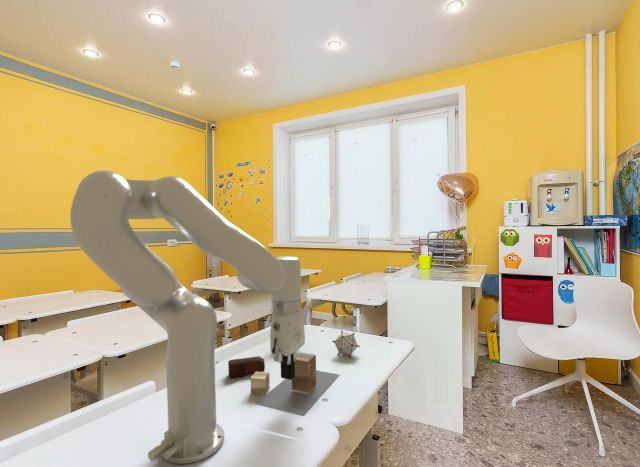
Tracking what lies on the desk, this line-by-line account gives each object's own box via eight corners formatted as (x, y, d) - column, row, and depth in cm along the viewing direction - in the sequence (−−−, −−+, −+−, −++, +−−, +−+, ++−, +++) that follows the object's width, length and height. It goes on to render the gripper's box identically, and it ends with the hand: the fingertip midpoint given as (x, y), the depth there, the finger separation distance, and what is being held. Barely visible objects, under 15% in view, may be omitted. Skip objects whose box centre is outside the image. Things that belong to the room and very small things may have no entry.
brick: (229, 380, 103) (229, 364, 103) (228, 374, 106) (228, 359, 106) (265, 374, 106) (264, 359, 106) (262, 369, 110) (262, 354, 110)
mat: (303, 417, 82) (303, 415, 82) (255, 405, 88) (255, 403, 88) (340, 375, 104) (340, 374, 104) (299, 368, 110) (299, 367, 110)
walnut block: (308, 394, 92) (307, 361, 92) (292, 391, 94) (291, 358, 94) (316, 386, 97) (315, 354, 96) (300, 383, 99) (300, 352, 99)
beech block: (265, 397, 92) (264, 378, 92) (250, 396, 93) (250, 377, 93) (269, 390, 96) (269, 372, 96) (256, 389, 97) (255, 371, 97)
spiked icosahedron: (351, 364, 121) (368, 342, 121) (340, 364, 114) (358, 340, 114) (335, 346, 126) (351, 325, 126) (323, 345, 120) (340, 322, 119)
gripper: (284, 314, 78) (285, 394, 79) (312, 300, 92) (314, 368, 92) (256, 311, 81) (258, 388, 82) (288, 298, 95) (289, 363, 96)
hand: (288, 377), depth 87 cm, fingers closed
